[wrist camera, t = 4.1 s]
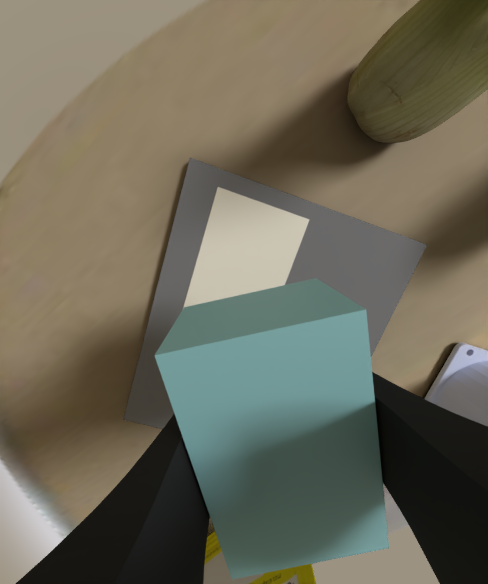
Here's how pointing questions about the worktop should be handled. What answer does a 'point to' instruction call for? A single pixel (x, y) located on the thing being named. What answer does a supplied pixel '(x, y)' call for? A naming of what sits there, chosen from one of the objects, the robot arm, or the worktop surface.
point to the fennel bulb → (422, 70)
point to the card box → (280, 424)
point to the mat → (262, 263)
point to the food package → (218, 580)
